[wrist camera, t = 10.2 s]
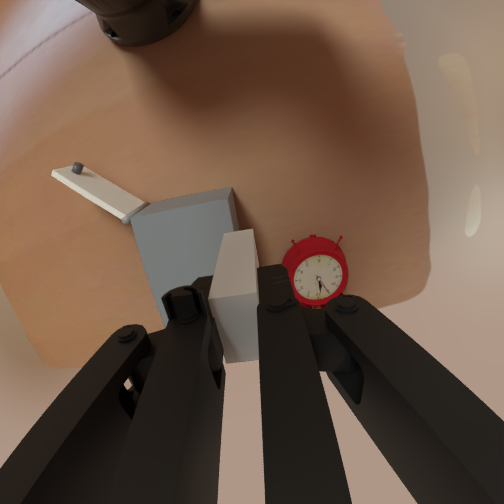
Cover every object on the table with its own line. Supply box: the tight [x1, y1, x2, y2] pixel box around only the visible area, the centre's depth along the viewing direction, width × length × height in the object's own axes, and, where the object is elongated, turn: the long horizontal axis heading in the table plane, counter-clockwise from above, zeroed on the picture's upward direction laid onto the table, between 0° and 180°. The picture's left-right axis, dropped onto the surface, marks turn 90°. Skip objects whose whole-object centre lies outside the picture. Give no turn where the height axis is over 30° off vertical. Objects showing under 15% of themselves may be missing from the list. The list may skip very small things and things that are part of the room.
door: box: [51, 162, 150, 225], centre depth 35 cm, size 14×2×8 cm, turn 58°
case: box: [130, 187, 240, 328], centre depth 39 cm, size 20×12×10 cm, turn 9°
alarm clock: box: [282, 234, 348, 309], centre depth 43 cm, size 10×6×15 cm
